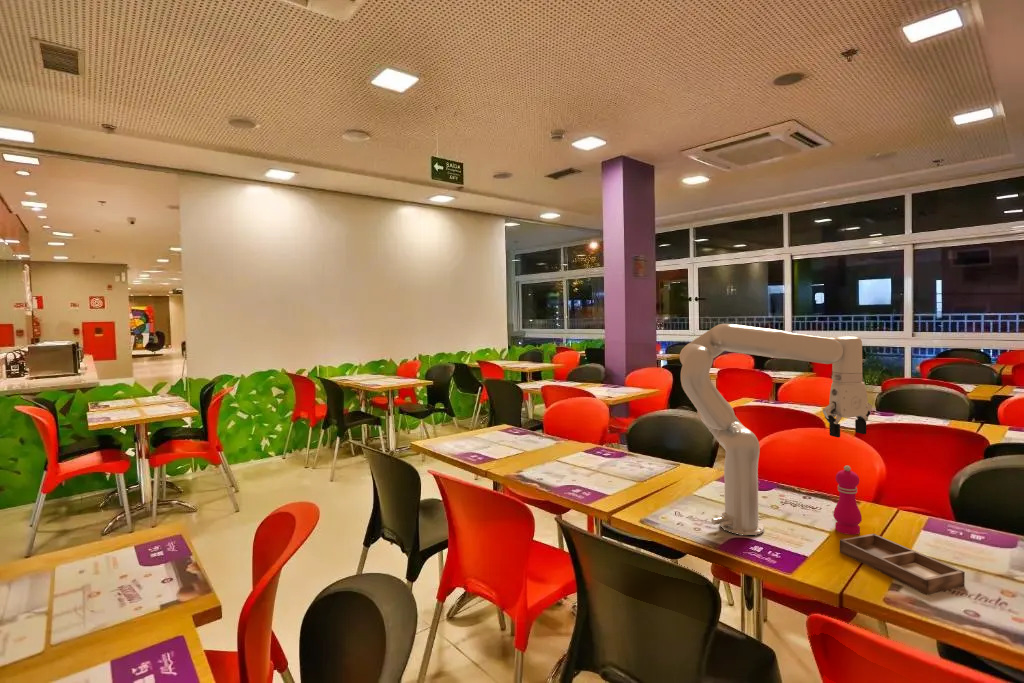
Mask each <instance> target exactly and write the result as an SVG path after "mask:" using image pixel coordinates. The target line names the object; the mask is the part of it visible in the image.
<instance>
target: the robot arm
mask: <svg viewBox="0 0 1024 683" xmlns="http://www.w3.org/2000/svg"><path fill="white" fill-rule="evenodd" d="M724 352H729V353H730V352H731V353H737V354H745V355H752V356H753V355H754V356H758V357H759V356H761V357H766V358H774V359H789V360H795V361H796V360H797V361H802V362H803V361H804V362H811V363H817V364H825V365H832V368H831V369H832V370H831V371H832V375H831V376H830V377H831V380H832V383H830V384H831V386H830V391H829V400H828V401H829V402H828V403H829V404H828V405H827V406H825V407H824V408H823V409H822V413H823V416H824V418H825V420H826V422H827V423H829V427H828V428H829V436H830V437H835V438H841V424H840V423H839V422H840V421H841V420H842V418H848V419H849V418H855V423H854V426H855V427H854V430H855V433H857V434H861V435H867V421H868V420H869V416H870V415H871V411H872V409H873V405H872V404H870V403H869V402H868V392H867V387H866V384H865V382H864V381H863V341H862V339H861V338H860V337H857V336H836V337H824V336H822V337H821V336H816V335H807V334H802V333H793V332H790V331H789V332H788V331H784V330H780V329H773V328H768V327H767V328H764V327H758V326H757V327H756V326H750V325H743V324H734V323H719V324H716V325H715V326H713V327H712V328H710V329H709V330H707V331H706V332H704V333H703V334H701V335H699V336H698V337H696V338H695V339H694V340H692V341H691V342H688V343H687V344H686V345H684V347H683V348H682V349H681V350H680V353H679V361H680V363H681V365H682V366H681V370H680V383H681V388H682V390H683V391H684V393H685V394H686V396H687V398H688V399H689V400H690V401H691V404H693V406H694V408H695V409H696V410H697V412H696V413H697V415H698V417H699V419H700V420H701V422H702V423H703V425H705V427H706V428H707V430H708V431H709V432H710V433H711V435H712V436H713V437H714V438H715V440H716V441H717V443H719V445H720V446H721V447H722V448H723V449H724V450H725V458H724V465H723V466H724V468H723V469H724V471H723V473H724V474H723V476H724V477H723V478H724V511H723V512H721V515H720V516H719V517H712V518H711V520H710V522H711V524H712V525H719V527H720V526H721V527H722V528H723V529H725V530H727V531H730V532H733V533H738V534H743V535H755V536H758V535H757V534H760V533H762V532H763V533H764V532H765V526H764V524H762V523H761V522H760V521H759V479H758V478H759V474H758V473H759V470H758V469H759V458H760V451H761V450H760V449H761V446H760V441H759V440H758V437H757V436H756V434H755V433H754V432H753V431H751V429H749V428H747V427H746V426H744V424H743V423H742V422H741V421H740V420H739V418H738V417H737V415H736V414H735V411H734V409H733V407H732V405H731V404H730V403H729V402H728V401H727V399H725V397H724V396H723V395H722V394H721V392H720V391H719V390H718V389H717V387H716V385H715V384H714V383H713V382H712V379H711V377H710V372H711V368H712V366H713V362H714V359H715V358H717V357H718V356H719V355H721V354H722V353H724ZM721 527H720V528H721ZM722 528H721V529H722ZM723 529H722V530H723ZM725 530H724V531H725ZM727 531H726V532H727ZM763 533H762V534H763ZM760 535H761V534H760Z"/></svg>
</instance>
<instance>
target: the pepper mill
mask: <svg viewBox="0 0 1024 683" xmlns="http://www.w3.org/2000/svg"><path fill="white" fill-rule="evenodd" d="M859 477H860V476H858V474H857V473H856V472H854V471H853V470H852V468H851V466H850V465H845V466H843V469H842V470H839V471H838V472H837V473H836V475H835V481H836V483H837V484H838V485H837V491H838V492H839V497H838V501H837V503H836V506H835V507H834V509H833V518H834V520H835V521H836V522H835V524H834V526H835V527H834V528H835V530H836V531H837V532H839V533H841V534H844V535H849V536H850V535H852V536H854V535H855V536H857V535H859V534H860V532H861V527H860V524H861V523H862V520H863V518H862V513H861V511H860V509H859V506H858V504H857V501H856V500H857V499H856V494H857V493H858V485H859V484H860V478H859Z"/></svg>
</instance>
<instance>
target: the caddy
mask: <svg viewBox="0 0 1024 683" xmlns="http://www.w3.org/2000/svg"><path fill="white" fill-rule="evenodd" d="M839 553H841V554H842V555H845V556H847V557H849V558H851V559H853V560H855V561H857V562H859V563H861V564H863V565H864V566H867V567H869V568H871V569H873V570H875V571H877V572H879V573H881V574H883V575H886V576H887V577H889V578H891V579H893V580H895V581H897V582H899V583H901V584H903V585H905V586H908V587H909V588H911V589H913V590H916V591H918V592H919V593H921V594H923V595H926V596H927V594H928V595H932V594H936V593H941V592H945V591H950V590H953V589H958V587H959V588H963V587H965V580H966V579H965V577H966V576H965V571H964V570H961V569H959V568H956V567H953V566H951V565H949V564H947V563H945V562H943V561H939V560H937V559H935V558H933V557H930V556H928V555H925V554H923V553H921V552H918V551H916V550H913V549H911V548H908V547H906V546H904V545H902V544H900V543H897V542H895V541H892V540H890V539H887V538H885V537H884V536H880V535H878V534H876V533H870V534H864V535H859V536H854V537H846V538H841V539H839ZM962 586H963V587H962ZM940 591H941V592H940Z"/></svg>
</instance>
